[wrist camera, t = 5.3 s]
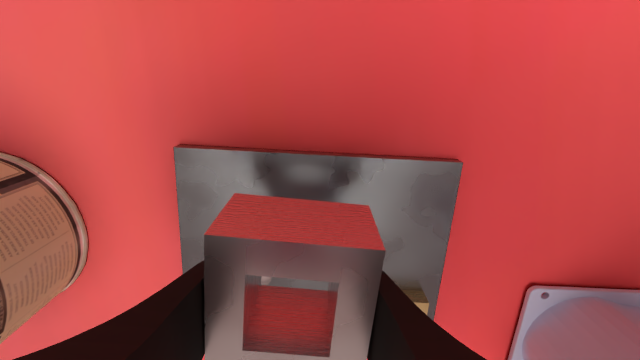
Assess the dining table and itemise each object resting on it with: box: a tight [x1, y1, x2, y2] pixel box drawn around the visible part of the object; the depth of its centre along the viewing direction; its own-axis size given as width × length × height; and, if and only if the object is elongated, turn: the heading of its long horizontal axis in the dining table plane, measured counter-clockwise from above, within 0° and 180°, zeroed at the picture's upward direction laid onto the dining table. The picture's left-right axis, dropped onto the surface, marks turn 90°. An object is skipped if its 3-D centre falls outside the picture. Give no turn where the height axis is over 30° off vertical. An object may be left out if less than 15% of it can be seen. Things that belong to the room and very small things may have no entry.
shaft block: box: [174, 144, 463, 320], centre depth 19 cm, size 16×12×4 cm
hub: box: [204, 193, 386, 360], centre depth 12 cm, size 5×5×4 cm
